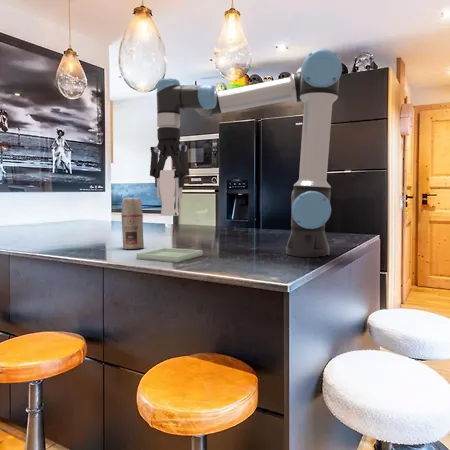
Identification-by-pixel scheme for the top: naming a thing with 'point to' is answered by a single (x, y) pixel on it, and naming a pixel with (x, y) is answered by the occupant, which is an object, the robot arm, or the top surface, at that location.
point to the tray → (170, 255)
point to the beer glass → (168, 192)
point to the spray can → (132, 223)
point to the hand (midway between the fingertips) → (169, 197)
